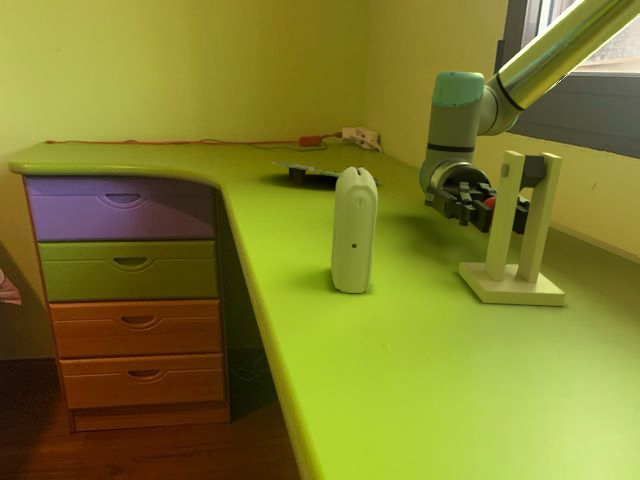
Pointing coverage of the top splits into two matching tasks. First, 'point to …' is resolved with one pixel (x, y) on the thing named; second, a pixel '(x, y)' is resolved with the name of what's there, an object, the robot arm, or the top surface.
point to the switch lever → (525, 177)
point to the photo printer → (353, 230)
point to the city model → (299, 170)
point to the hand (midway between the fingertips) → (505, 222)
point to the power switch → (523, 279)
